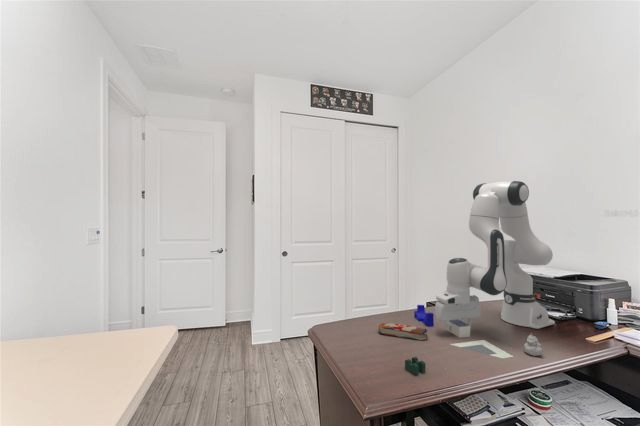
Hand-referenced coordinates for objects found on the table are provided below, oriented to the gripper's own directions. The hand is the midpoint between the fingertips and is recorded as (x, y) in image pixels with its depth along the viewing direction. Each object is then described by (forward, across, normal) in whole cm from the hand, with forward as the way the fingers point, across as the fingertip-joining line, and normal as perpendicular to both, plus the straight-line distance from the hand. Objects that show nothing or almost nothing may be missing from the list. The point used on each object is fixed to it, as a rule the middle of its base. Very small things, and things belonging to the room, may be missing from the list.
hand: (458, 328), depth 116 cm
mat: (+2, +4, +15) cm, 16 cm away
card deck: (+2, 0, 0) cm, 2 cm away
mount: (+2, +35, +23) cm, 42 cm away
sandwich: (+2, +24, -3) cm, 25 cm away
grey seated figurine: (+2, -14, +21) cm, 26 cm away
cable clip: (+2, +7, -15) cm, 17 cm away
